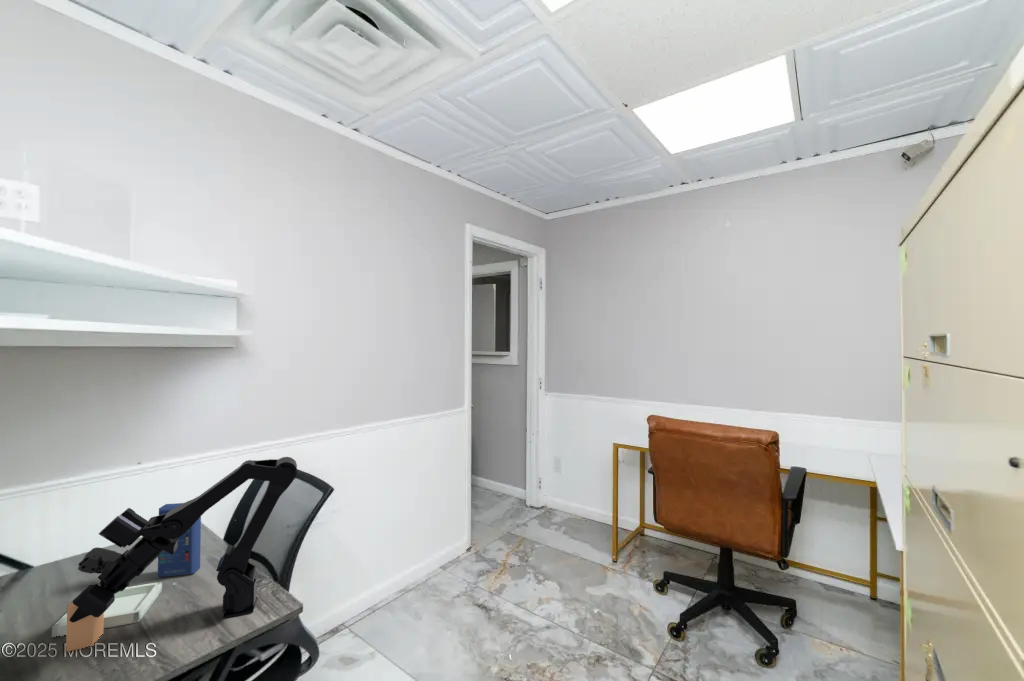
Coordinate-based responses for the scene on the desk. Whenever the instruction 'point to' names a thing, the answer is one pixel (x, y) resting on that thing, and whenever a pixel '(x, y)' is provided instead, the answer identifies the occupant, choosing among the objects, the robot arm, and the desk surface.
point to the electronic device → (181, 550)
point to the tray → (122, 607)
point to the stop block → (82, 630)
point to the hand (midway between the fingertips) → (77, 614)
